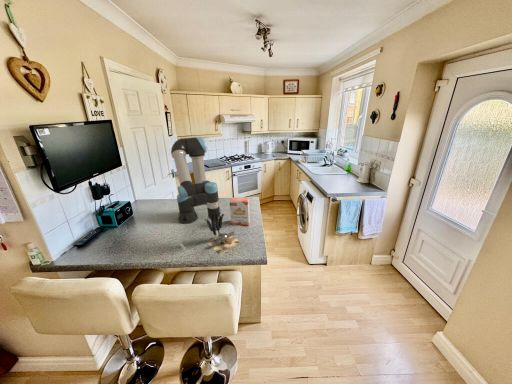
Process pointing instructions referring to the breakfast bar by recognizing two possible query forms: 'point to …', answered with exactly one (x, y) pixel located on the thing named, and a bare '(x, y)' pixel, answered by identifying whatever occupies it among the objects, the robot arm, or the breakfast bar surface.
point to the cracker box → (239, 211)
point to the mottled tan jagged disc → (224, 245)
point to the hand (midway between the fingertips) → (216, 238)
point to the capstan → (223, 238)
